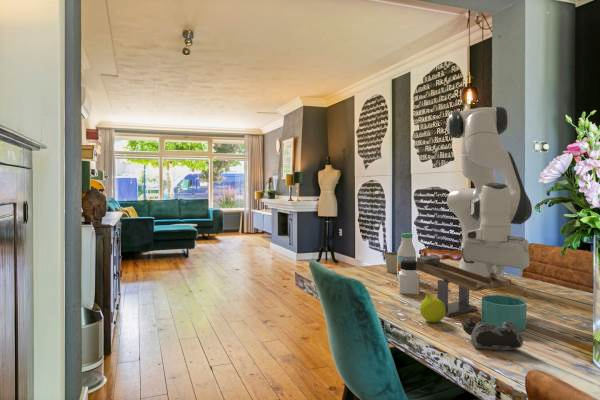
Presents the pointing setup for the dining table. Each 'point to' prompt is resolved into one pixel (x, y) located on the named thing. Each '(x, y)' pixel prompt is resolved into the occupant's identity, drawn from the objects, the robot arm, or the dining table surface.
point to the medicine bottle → (408, 278)
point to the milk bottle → (405, 251)
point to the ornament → (432, 309)
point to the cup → (504, 311)
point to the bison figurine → (494, 335)
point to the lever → (457, 274)
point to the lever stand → (456, 306)
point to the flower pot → (391, 261)
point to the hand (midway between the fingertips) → (494, 278)
